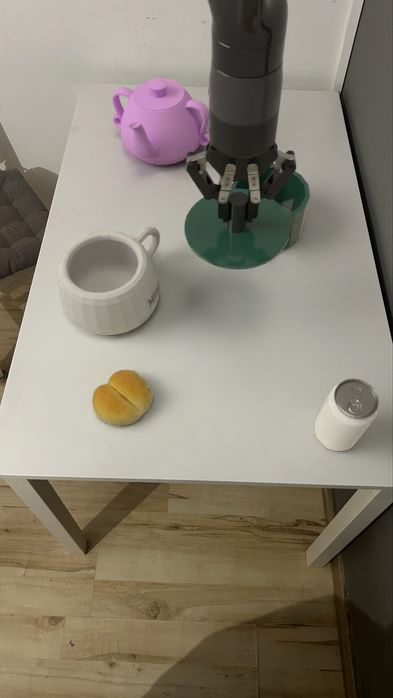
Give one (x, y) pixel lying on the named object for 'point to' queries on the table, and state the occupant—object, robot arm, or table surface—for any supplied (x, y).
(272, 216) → the lid
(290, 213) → the pot
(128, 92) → the teapot
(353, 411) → the can
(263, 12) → the robot arm
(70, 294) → the mug
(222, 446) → the table surface
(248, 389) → the table surface
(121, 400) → the bread roll
